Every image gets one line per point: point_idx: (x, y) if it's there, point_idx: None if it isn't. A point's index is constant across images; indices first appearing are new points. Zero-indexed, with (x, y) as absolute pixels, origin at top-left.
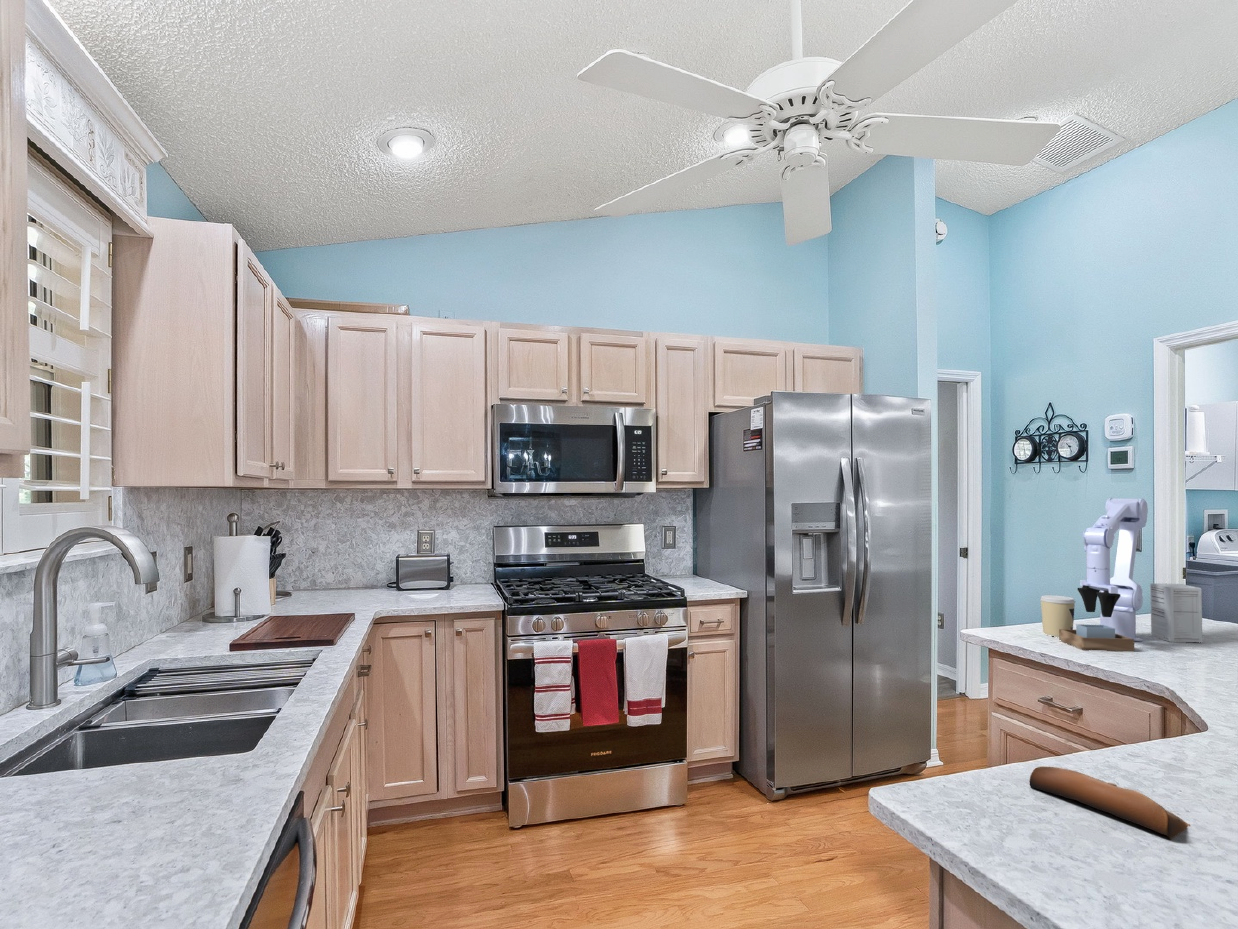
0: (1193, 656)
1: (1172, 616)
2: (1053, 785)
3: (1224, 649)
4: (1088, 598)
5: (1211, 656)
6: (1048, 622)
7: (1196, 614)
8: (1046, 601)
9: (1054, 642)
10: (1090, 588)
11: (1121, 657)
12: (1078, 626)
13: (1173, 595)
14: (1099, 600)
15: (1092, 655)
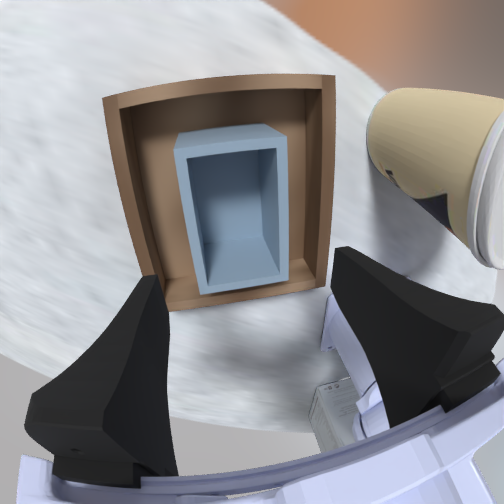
0: None
1: (335, 438)
2: None
3: (260, 427)
4: (386, 322)
5: (180, 404)
6: (429, 92)
7: None
8: None
9: (274, 37)
10: (430, 405)
11: (44, 203)
12: (261, 136)
13: None
14: (130, 356)
15: (38, 105)
